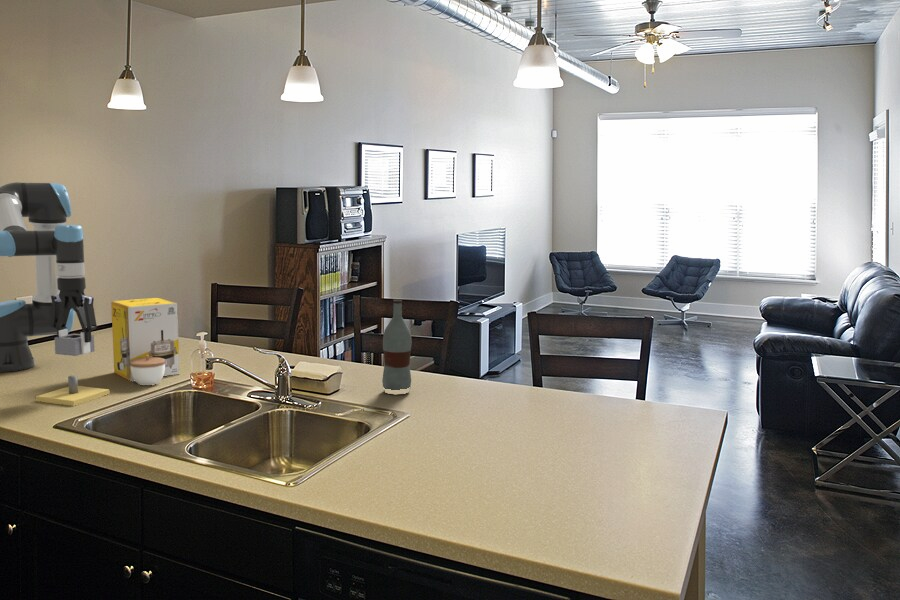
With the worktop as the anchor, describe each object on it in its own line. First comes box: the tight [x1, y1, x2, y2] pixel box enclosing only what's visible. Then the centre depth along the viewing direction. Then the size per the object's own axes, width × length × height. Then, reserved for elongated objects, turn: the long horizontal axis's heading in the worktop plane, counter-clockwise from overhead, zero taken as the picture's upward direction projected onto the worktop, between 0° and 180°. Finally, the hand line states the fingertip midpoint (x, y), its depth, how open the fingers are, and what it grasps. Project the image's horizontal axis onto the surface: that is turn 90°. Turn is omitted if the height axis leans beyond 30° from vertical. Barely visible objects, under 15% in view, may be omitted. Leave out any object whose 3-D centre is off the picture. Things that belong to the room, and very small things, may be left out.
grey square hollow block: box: [54, 333, 95, 357], centre depth 224 cm, size 8×8×5 cm
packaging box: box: [110, 297, 180, 382], centre depth 254 cm, size 16×16×25 cm
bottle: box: [381, 299, 412, 390], centre depth 236 cm, size 9×9×30 cm
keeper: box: [35, 375, 111, 407], centre depth 224 cm, size 14×14×6 cm
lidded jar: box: [130, 355, 165, 386], centre depth 242 cm, size 11×11×9 cm
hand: (75, 351), depth 224 cm, fingers closed on grey square hollow block, 7 cm apart
